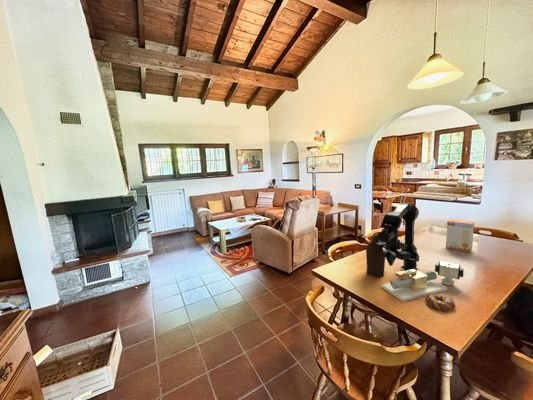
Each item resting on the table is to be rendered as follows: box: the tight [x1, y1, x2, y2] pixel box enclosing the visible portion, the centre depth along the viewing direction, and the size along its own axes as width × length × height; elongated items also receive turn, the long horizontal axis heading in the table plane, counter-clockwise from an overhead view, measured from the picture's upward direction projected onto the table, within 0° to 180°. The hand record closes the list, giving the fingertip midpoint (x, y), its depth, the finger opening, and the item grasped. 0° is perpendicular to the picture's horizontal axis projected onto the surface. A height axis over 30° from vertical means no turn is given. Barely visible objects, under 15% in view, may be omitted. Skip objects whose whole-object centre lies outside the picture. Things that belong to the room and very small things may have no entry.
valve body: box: [389, 269, 438, 291], centre depth 119 cm, size 8×26×7 cm, turn 105°
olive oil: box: [365, 233, 386, 278], centre depth 135 cm, size 11×11×25 cm
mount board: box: [381, 280, 448, 302], centre depth 120 cm, size 14×28×2 cm, turn 105°
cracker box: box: [445, 219, 475, 253], centre depth 163 cm, size 14×6×21 cm, turn 38°
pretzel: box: [425, 293, 456, 313], centre depth 106 cm, size 12×11×4 cm
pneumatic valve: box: [434, 261, 464, 286], centre depth 121 cm, size 6×12×12 cm, turn 51°
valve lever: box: [395, 269, 418, 279], centre depth 117 cm, size 12×3×2 cm, turn 108°
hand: (390, 265), depth 121 cm, fingers closed
